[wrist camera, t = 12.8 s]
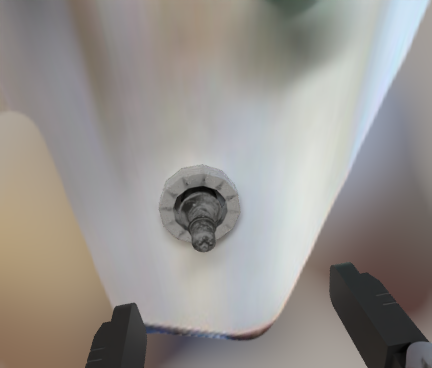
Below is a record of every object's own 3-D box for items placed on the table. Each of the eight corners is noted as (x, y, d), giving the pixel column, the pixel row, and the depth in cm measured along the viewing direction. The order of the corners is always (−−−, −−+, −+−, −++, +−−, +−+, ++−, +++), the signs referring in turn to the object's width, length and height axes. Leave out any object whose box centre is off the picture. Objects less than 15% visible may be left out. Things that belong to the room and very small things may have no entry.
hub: (153, 173, 42) (151, 182, 39) (230, 159, 42) (234, 167, 39) (172, 243, 47) (171, 255, 45) (240, 230, 48) (244, 242, 45)
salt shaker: (219, 215, 46) (230, 269, 35) (180, 217, 46) (180, 273, 35) (218, 180, 43) (231, 227, 33) (177, 183, 43) (176, 231, 32)
